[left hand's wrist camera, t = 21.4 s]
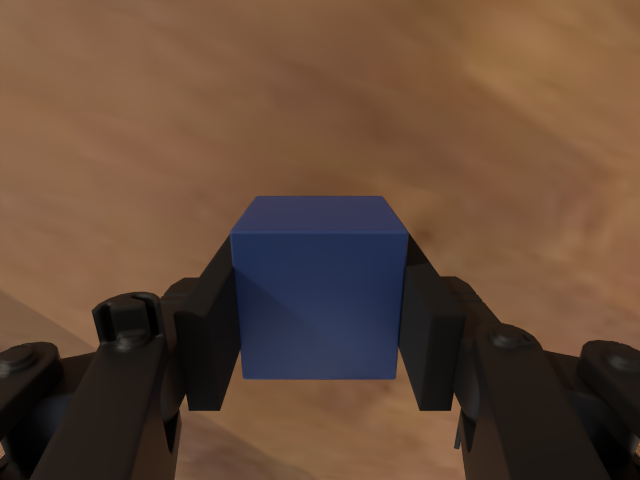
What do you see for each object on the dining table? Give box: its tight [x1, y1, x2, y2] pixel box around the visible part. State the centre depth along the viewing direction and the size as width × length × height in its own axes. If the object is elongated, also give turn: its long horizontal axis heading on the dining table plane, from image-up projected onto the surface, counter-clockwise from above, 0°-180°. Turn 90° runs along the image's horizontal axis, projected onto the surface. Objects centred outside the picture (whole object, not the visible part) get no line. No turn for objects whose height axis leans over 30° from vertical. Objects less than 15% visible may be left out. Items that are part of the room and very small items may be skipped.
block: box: [230, 196, 409, 379], centre depth 13 cm, size 5×5×4 cm
